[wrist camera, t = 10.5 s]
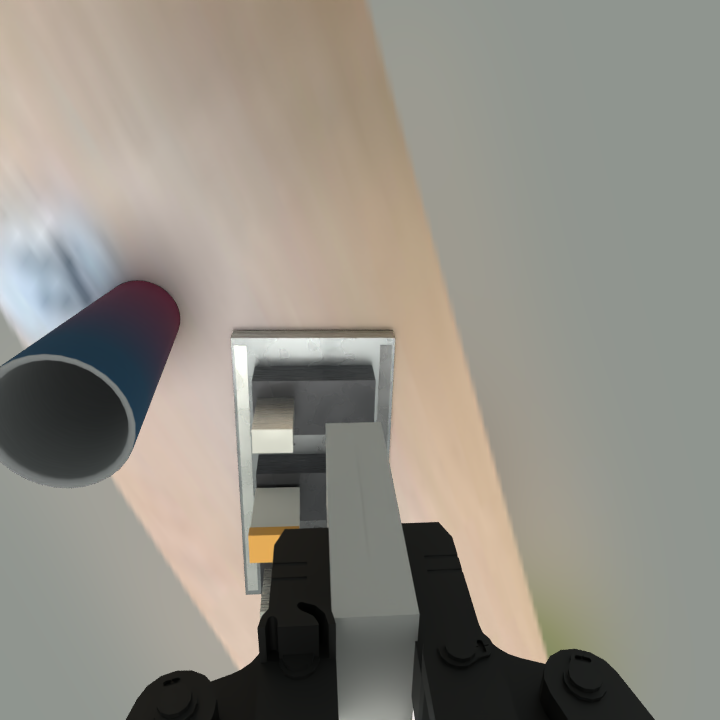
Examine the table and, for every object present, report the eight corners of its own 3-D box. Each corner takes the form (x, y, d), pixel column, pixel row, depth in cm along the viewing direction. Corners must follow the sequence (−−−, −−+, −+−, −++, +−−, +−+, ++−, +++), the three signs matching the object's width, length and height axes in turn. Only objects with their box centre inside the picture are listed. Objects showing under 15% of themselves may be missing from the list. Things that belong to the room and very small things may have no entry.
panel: (233, 330, 42) (216, 380, 34) (392, 330, 43) (410, 378, 35) (247, 581, 50) (236, 665, 43) (379, 576, 51) (392, 658, 44)
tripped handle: (255, 487, 42) (248, 535, 37) (300, 486, 42) (299, 534, 38) (256, 512, 43) (249, 563, 38) (300, 511, 43) (299, 561, 38)
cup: (109, 371, 42) (12, 501, 29) (74, 277, 40) (-52, 370, 26) (205, 352, 42) (155, 473, 29) (177, 258, 40) (106, 340, 26)
